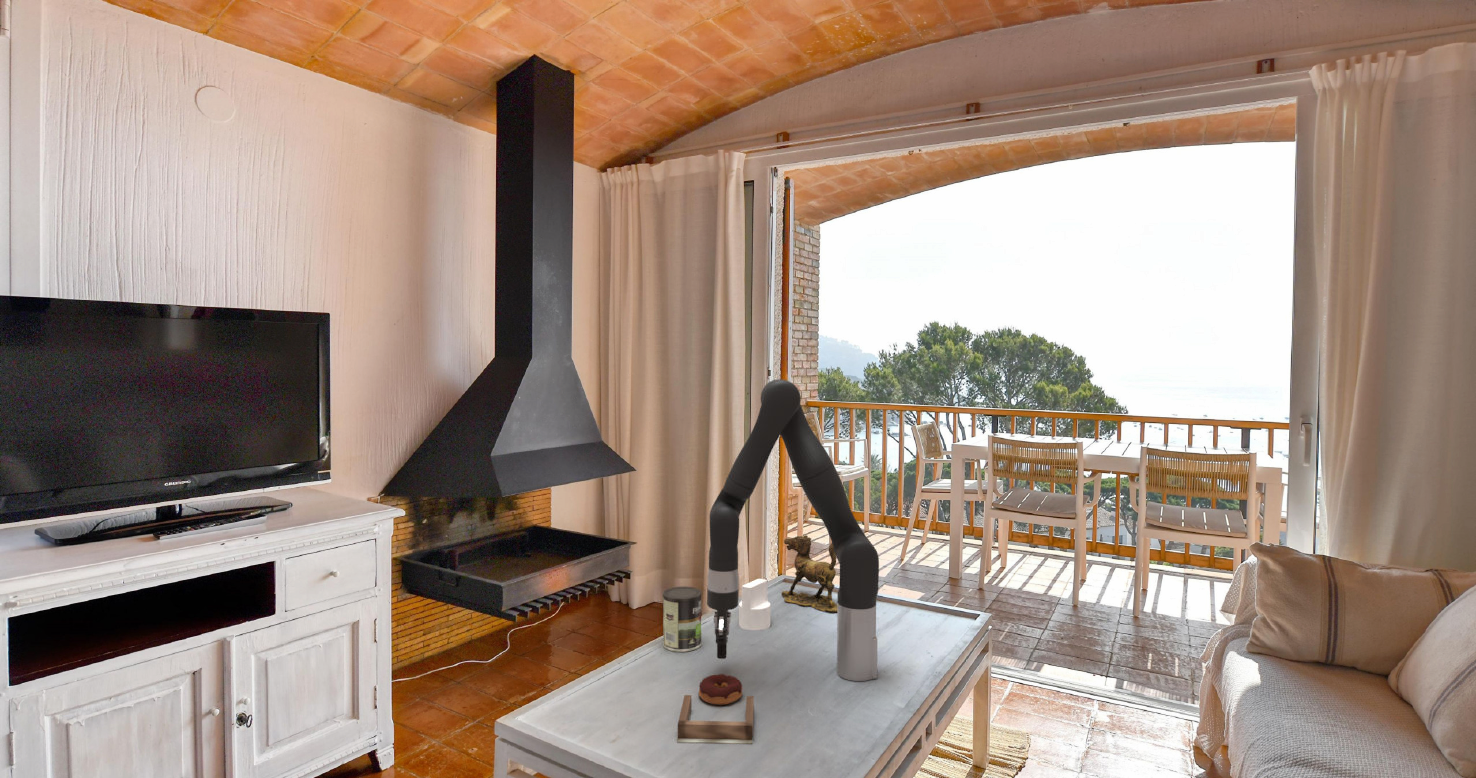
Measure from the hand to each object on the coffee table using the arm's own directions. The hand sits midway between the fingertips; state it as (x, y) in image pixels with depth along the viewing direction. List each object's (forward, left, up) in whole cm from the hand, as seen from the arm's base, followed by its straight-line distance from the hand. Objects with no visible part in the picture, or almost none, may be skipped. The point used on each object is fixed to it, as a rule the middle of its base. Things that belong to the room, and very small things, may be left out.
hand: (721, 657), depth 175 cm
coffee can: (+12, -18, -5) cm, 22 cm away
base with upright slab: (-7, -33, -5) cm, 34 cm away
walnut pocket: (0, +23, -4) cm, 23 cm away
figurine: (-26, -52, -5) cm, 58 cm away
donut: (0, +11, -5) cm, 12 cm away
